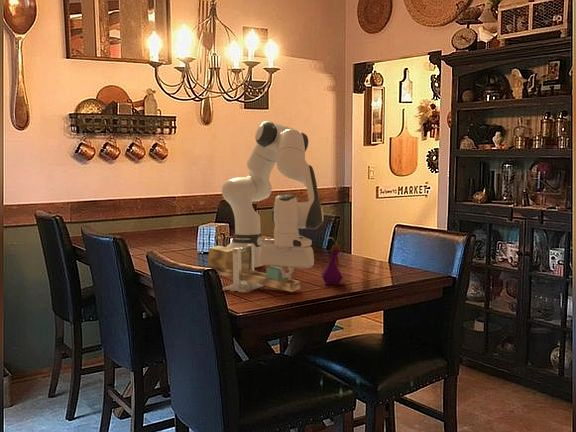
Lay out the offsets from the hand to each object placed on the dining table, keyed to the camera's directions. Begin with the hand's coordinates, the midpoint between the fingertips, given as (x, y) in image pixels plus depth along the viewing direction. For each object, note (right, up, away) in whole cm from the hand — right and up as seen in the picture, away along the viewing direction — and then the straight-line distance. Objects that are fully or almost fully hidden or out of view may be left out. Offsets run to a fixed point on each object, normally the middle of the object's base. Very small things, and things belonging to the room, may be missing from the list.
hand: (286, 278), depth 236 cm
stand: (-16, -4, +9) cm, 19 cm away
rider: (-5, -1, +3) cm, 6 cm away
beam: (-13, -1, +7) cm, 14 cm away
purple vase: (+17, -4, +13) cm, 22 cm away
